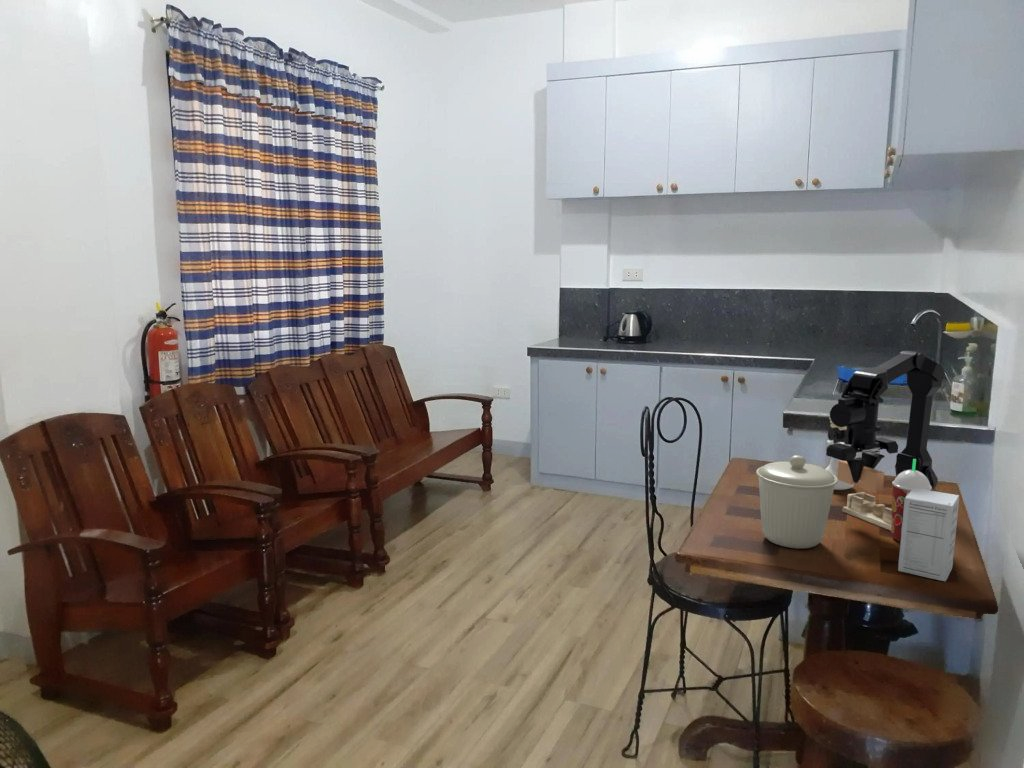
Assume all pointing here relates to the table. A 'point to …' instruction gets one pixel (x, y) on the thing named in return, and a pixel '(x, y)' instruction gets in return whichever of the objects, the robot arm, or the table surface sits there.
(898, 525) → the smoothie
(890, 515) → the display stand
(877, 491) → the tapered tan board
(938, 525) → the supplement box
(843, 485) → the flower in vase
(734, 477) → the table surface
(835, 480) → the canister
